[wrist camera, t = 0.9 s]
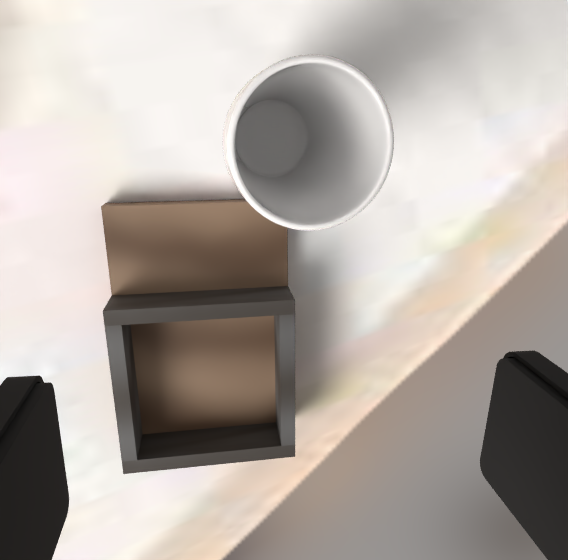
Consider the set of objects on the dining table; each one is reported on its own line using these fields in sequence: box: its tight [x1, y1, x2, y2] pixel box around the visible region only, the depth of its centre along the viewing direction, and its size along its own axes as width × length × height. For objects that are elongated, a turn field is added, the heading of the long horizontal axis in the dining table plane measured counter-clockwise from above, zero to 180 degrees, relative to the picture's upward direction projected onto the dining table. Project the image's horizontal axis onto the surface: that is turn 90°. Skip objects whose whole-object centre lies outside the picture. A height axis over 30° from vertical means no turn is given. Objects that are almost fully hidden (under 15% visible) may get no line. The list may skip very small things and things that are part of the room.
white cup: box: [222, 54, 394, 230], centre depth 26 cm, size 7×7×15 cm
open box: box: [101, 199, 295, 474], centre depth 34 cm, size 18×12×4 cm, turn 1°
